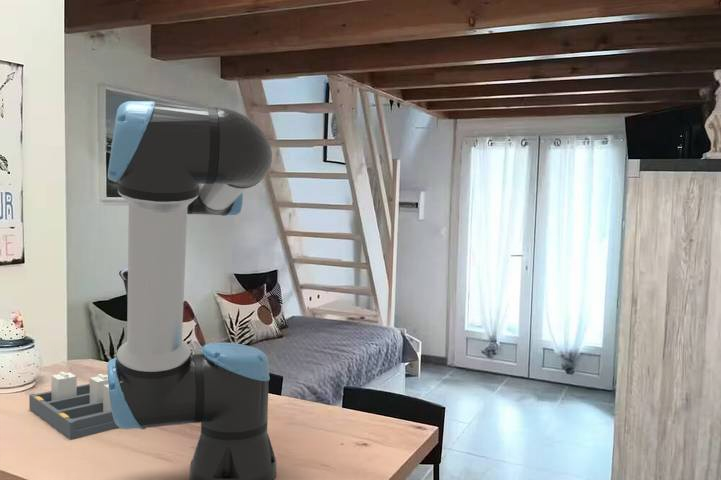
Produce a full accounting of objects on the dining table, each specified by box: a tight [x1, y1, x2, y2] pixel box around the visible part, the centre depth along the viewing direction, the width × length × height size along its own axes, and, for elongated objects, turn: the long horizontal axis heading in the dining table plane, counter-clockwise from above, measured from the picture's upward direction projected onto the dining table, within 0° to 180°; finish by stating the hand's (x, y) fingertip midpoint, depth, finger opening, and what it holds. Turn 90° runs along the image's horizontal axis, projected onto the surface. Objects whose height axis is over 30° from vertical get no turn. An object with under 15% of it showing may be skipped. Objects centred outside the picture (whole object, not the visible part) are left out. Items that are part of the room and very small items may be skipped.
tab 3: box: [50, 371, 78, 401], centre depth 139 cm, size 4×4×7 cm
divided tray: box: [28, 383, 120, 440], centre depth 136 cm, size 23×15×4 cm, turn 47°
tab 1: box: [103, 384, 112, 412], centre depth 134 cm, size 4×4×7 cm
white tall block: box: [89, 373, 108, 404], centre depth 139 cm, size 4×4×7 cm
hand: (148, 342), depth 139 cm, fingers closed
